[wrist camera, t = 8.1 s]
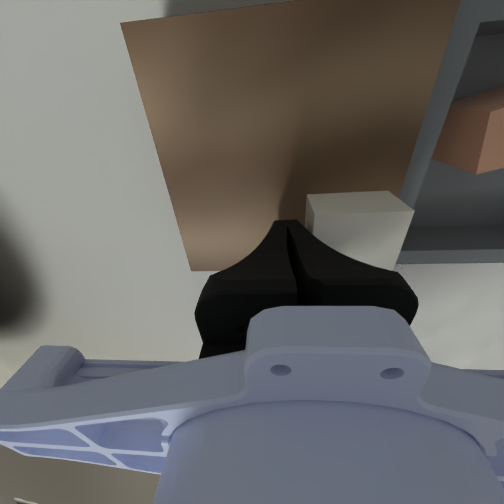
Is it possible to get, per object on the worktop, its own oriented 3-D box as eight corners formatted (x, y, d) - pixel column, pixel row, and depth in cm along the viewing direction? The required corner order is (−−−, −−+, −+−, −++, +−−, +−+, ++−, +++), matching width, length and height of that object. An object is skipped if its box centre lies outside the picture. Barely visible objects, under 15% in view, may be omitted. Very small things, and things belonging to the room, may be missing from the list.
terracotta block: (520, 80, 11) (505, 134, 12) (429, 108, 12) (424, 156, 13) (626, 71, 8) (590, 146, 9) (490, 111, 9) (475, 174, 10)
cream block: (369, 255, 13) (388, 283, 11) (302, 256, 14) (308, 284, 12) (387, 190, 11) (414, 210, 9) (306, 194, 11) (314, 214, 9)
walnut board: (356, 236, 17) (376, 269, 14) (205, 240, 18) (191, 271, 15) (405, 17, 10) (467, -22, 7) (162, 45, 12) (119, 22, 8)
